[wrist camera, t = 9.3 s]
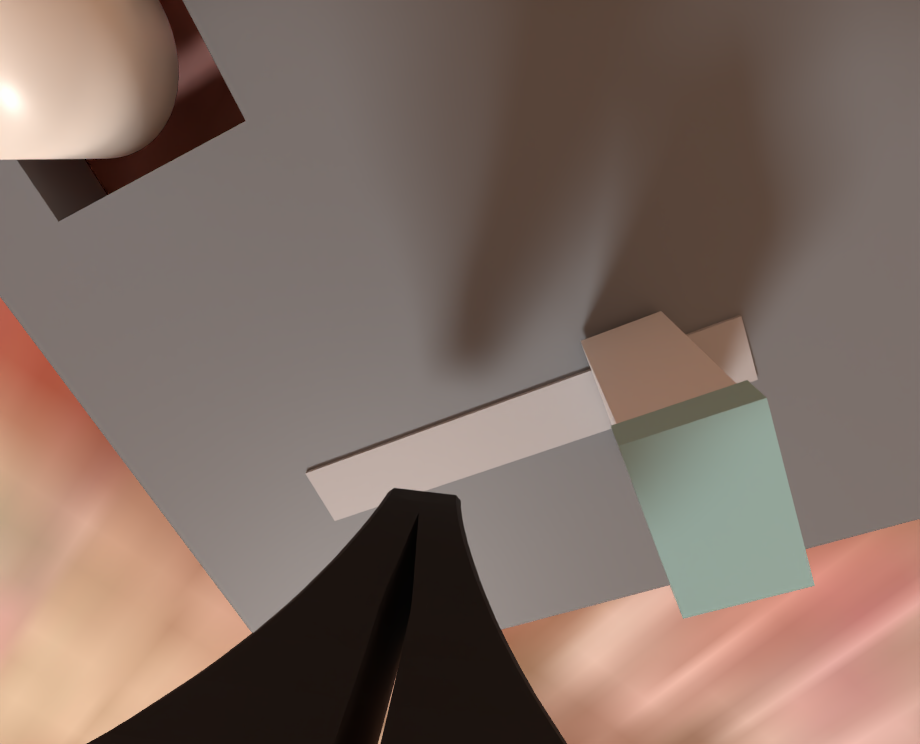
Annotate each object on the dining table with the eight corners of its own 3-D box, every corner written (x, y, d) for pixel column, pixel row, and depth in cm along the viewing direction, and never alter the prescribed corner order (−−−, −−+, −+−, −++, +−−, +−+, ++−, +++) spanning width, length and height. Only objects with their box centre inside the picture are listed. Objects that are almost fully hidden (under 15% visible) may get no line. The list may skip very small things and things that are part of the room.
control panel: (-176, -65, 12) (-310, -109, 10) (758, -797, 8) (847, -1125, 6) (311, 632, 19) (290, 687, 17) (933, 454, 15) (1000, 500, 13)
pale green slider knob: (574, 338, 12) (618, 446, 7) (664, 305, 11) (766, 396, 7) (620, 462, 13) (682, 618, 9) (704, 435, 12) (814, 585, 8)
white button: (-62, -8, 10) (-247, -62, 8) (95, -119, 10) (-55, -220, 7) (67, 189, 12) (-55, 199, 9) (216, 107, 11) (128, 93, 8)
